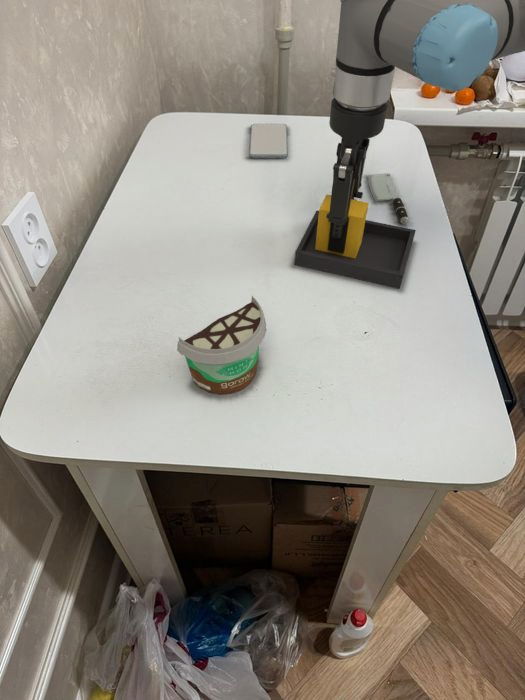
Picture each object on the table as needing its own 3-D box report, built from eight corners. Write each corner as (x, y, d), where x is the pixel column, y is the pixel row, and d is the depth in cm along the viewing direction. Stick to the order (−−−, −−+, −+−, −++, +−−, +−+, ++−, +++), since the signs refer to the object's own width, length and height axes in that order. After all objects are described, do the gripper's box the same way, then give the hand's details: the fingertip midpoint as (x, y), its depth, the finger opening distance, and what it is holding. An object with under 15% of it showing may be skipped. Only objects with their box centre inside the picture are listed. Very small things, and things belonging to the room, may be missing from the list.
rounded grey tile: (286, 123, 115) (288, 154, 105) (286, 127, 116) (288, 159, 106) (250, 123, 116) (248, 154, 106) (250, 127, 116) (248, 159, 106)
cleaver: (366, 174, 101) (391, 170, 101) (366, 180, 102) (391, 176, 102) (381, 222, 90) (410, 217, 90) (381, 228, 91) (409, 224, 91)
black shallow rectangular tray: (412, 243, 87) (415, 229, 85) (399, 289, 80) (403, 275, 78) (315, 223, 91) (316, 210, 89) (294, 265, 84) (295, 251, 82)
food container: (211, 419, 64) (204, 370, 56) (185, 389, 67) (174, 339, 59) (284, 370, 69) (286, 320, 61) (256, 344, 72) (255, 293, 65)
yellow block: (361, 243, 86) (368, 202, 80) (355, 258, 83) (362, 218, 77) (322, 234, 88) (326, 194, 82) (314, 249, 85) (319, 209, 79)
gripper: (348, 71, 73) (331, 208, 91) (314, 123, 63) (303, 268, 80) (399, 78, 72) (372, 217, 89) (374, 133, 61) (349, 278, 79)
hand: (339, 241), depth 85 cm, fingers closed on yellow block, 4 cm apart
